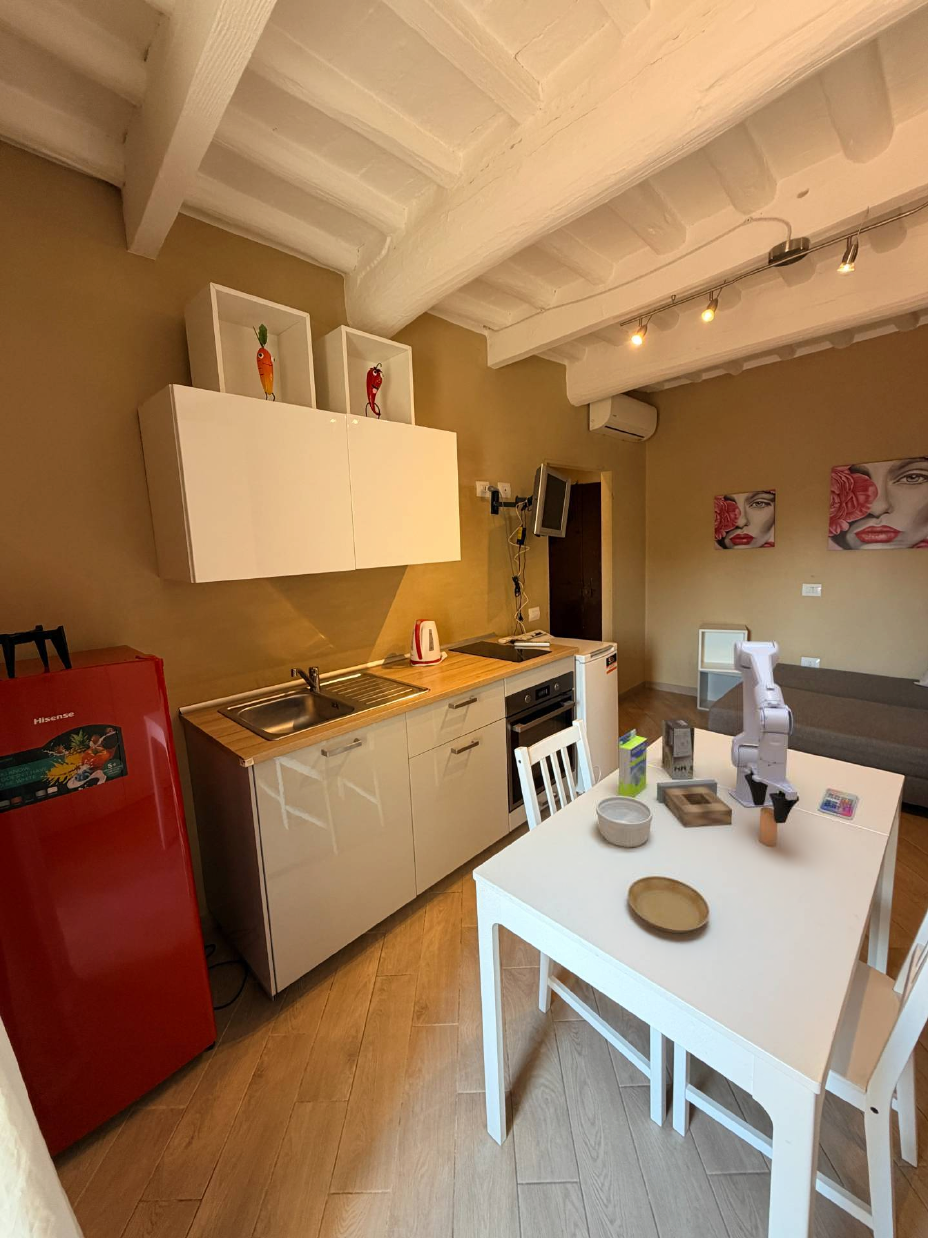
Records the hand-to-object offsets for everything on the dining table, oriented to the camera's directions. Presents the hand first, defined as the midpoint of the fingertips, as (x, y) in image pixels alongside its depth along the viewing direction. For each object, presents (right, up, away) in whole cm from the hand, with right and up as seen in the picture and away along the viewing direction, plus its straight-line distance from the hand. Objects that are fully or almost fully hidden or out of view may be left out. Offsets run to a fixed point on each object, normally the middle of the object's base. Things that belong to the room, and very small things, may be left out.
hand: (769, 813), depth 115 cm
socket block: (-10, -6, +15) cm, 19 cm away
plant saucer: (-32, -12, -19) cm, 39 cm away
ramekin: (-32, -8, +7) cm, 34 cm away
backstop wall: (-10, -5, +22) cm, 24 cm away
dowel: (0, -7, +1) cm, 8 cm away
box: (-23, -5, +27) cm, 36 cm away
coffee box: (-5, -2, +38) cm, 38 cm away
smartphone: (+29, -5, +16) cm, 33 cm away
